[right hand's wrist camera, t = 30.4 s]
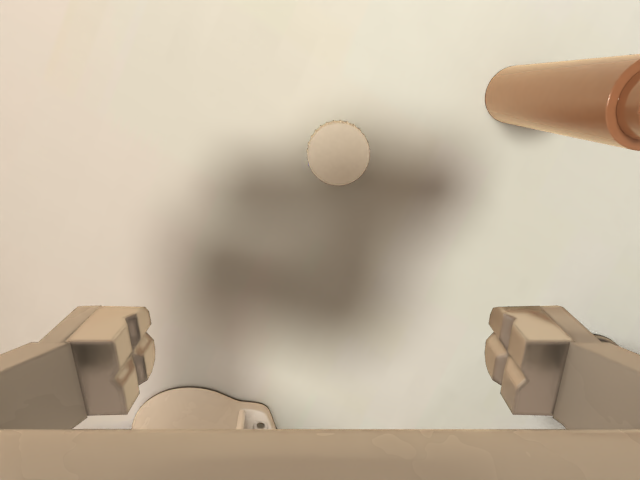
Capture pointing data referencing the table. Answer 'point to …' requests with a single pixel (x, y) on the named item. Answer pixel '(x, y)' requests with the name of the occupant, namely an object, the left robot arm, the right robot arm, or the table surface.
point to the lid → (338, 153)
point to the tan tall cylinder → (572, 98)
